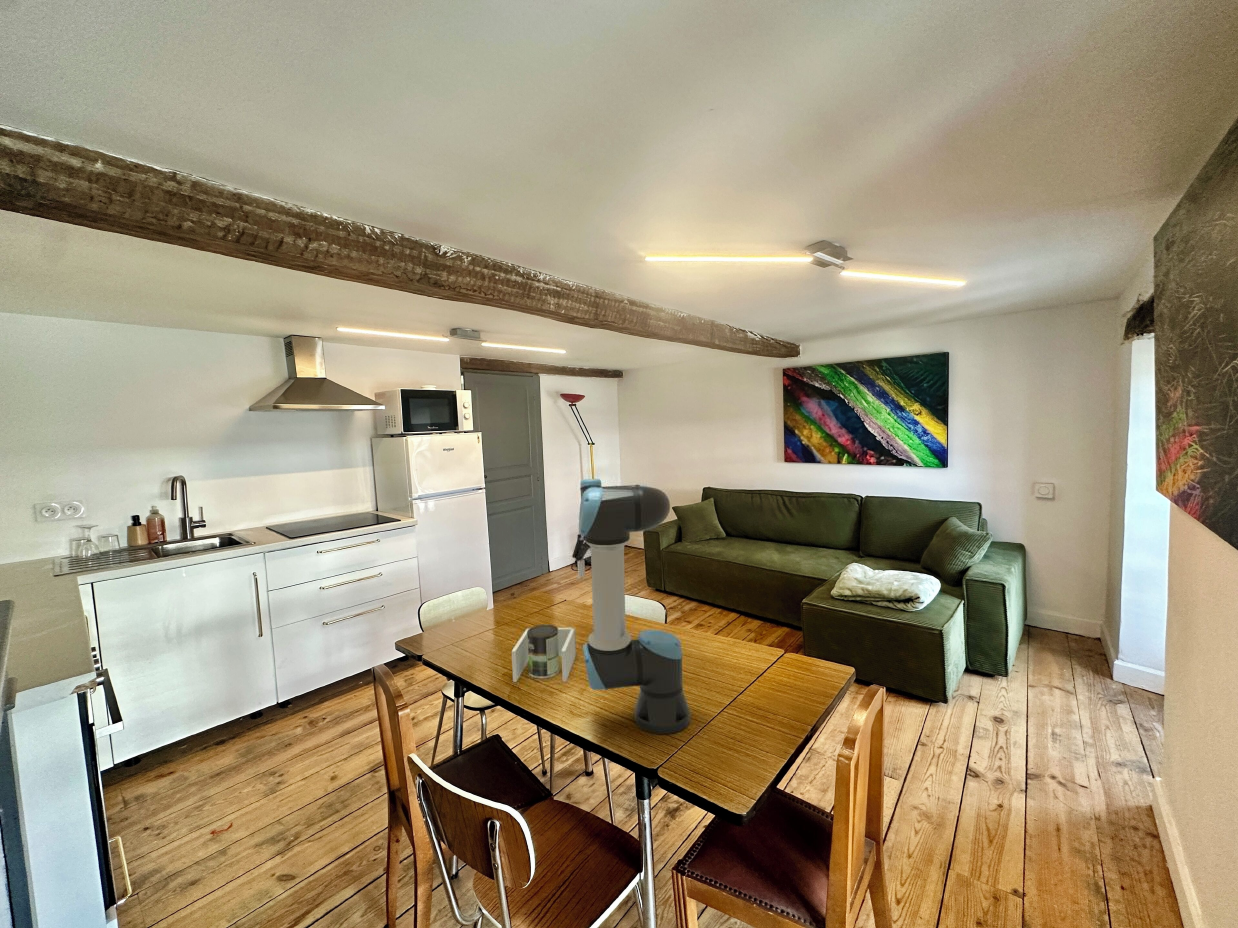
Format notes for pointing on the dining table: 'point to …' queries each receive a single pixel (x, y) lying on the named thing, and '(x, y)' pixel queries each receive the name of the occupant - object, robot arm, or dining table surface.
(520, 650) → the white u-shaped bracket
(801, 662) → the dining table surface
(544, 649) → the coffee can
